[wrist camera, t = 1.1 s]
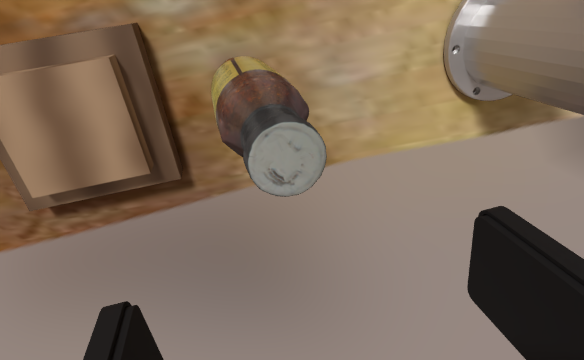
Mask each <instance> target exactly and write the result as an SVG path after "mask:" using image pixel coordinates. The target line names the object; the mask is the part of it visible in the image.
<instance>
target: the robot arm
mask: <svg viewBox="0 0 584 360" xmlns="http://www.w3.org/2000/svg"><path fill="white" fill-rule="evenodd" d="M444 63H445V68H446V71H447V75H448V77H449V79H450V80H451V82H452V84H453V85H454V86H455V87H456V88H457V90H458V91H460V92H461V93H463V94H464V95H466V96H468V97H471V98H473V99H477V100H481V101H494V100H499V99H503V98H506V97H508V96H511V95H513V94H514V95H517V96H521V97H524V98H527V99H531V100H534V101H538V102H541V103H545V104H548V105H551V106H555V107H558V108H562V109H565V110H569V111H572V112H576V113H579V114H582V115H584V0H463V1H462V2H461V3H460V5H459V6H458V8H457V10H456V11H455V13H454V15H453V17H452V19H451V22H450V24H449V27H448V30H447V34H446V38H445V44H444ZM468 293H469V295H470V297H471V299H472V300H473V301H474V303H475V304H476V305H477V306H478V307H479V308H480V309H481V310H482V311H483V313H484V314H485V315H486V316H487V317H488V318H489V319H490V320H491V321H492V322H493V324H494V325H495V326H496V327H497V328H498V329H499V330H500V331H501V332H502V333H503V335H504V336H505V337H506V338H507V339H508V340H509V341H510V342H511V344H512V345H513V346H514V347H515V348H516V349H517V350H518V351H519V352H520V353H521V355H522V356H523V357H524V358H525V359H526V360H584V259H583V258H581V257H579V256H578V255H577V254H575V253H574V252H572V251H570V250H569V249H568V248H566V247H565V246H563V245H562V244H560V243H558V242H557V241H556V240H554V239H553V238H551V237H550V236H548V235H547V234H545V233H544V232H542V231H541V230H539V229H538V228H536V227H535V226H533V225H532V224H530V223H529V222H527V221H526V220H524V219H523V218H521V217H520V216H518V215H517V214H515V213H514V212H512V211H511V210H509V209H508V208H506V207H504V206H498V207H494V208H491V209H487V210H483V211H481V212H480V213H479V216H478V217H477V218H476V219H475V222H474V231H473V240H472V250H471V259H470V268H469V278H468ZM83 360H163V358H162V355H161V353H160V351H159V349H158V347H157V345H156V343H155V340H154V338H153V336H152V334H151V332H150V330H149V328H148V325H147V323H146V321H145V319H144V317H143V315H142V313H141V310H140V308H139V307H138V306H137V305H134V306H131V304H130V303H129V302H127V301H126V302H122V303H118V304H114V305H110V306H106V307H103V308H102V309H101V311H100V313H99V316H98V319H97V322H96V325H95V328H94V331H93V333H92V336H91V339H90V342H89V345H88V347H87V350H86V353H85V356H84V359H83Z"/></svg>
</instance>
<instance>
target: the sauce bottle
mask: <svg viewBox="0 0 584 360" xmlns="http://www.w3.org/2000/svg"><path fill="white" fill-rule="evenodd" d="M211 95H212V101H213V107H214V112H215V117H216V123H217V126H218V129H219V131H220V134H221V138H222V141H223V143H225V144H226V145H227V146H228V147H230V148H231V149H232V150H233V151H235V152H236V153H237V154H239V155H240V156H242V157H243V160H244V163H245V166H246V169H247V171H248V173H249V175H250V178H251V179H252V180H253V182H254V183H255V184H256V185H257V187H258V188H259V189H261V190H262V191H264V192H267V193H269V194H272V195H276V196H285V197H286V196H293V195H299V194H301V193H303V192H305V191H306V190H308V189H309V188H310V187H312V186H313V185H314V183H315V182H316V181H317V180H318V179H319V178H320V176H321V175H322V172H323V170H324V167H325V163H326V157H327V156H326V146H325V144H324V141H323V139H322V138H321V136H320V134H319V133H318V132H317V131H316V129H315V128H314V127H313V126H312V125H311V124H310V123H308V122H307V118H308V116H309V108H308V105H307V104H306V102H305V101H304V99H303V98H302V97H301V95H300V94H299V92H298V90H296V89H295V88H294V86H292V85H291V84H290V83H289V82H288V81H287V80H286V79H285V78H284V77H282V76H281V75H280V74H278V73H277V72H276V71H275V70H273V69H272V68H270V67H269V66H268V65H266V64H265V63H263V62H262V61H260V60H258V59H255V58H252V57H245V56H242V57H235V58H231V59H229V60H227V61H226V62H225V63H223V64H222V65H221V66H220V67H219V69H218V70H217V72H216V73H215V75H214V77H213V81H212V86H211Z"/></svg>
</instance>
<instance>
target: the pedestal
mask: <svg viewBox="0 0 584 360" xmlns="http://www.w3.org/2000/svg"><path fill="white" fill-rule="evenodd" d="M0 160H1V161H2V163H3V165H4V167H5V168H6V170H7V172H8V174H9V176H10V177H11V179H12V181H13V183H14V184H15V186H16V188H17V190H18V191H19V193H20V195H21V197H22V199H23V200H24V202H25V204H26V206H27V207H28V209H29V211H33V210H38V209H42V208H47V207H52V206H57V205H61V204H66V203H71V202H75V201H80V200H85V199H89V198H94V197H99V196H103V195H108V194H113V193H117V192H122V191H127V190H131V189H136V188H141V187H145V186H150V185H155V184H159V183H164V182H169V181H173V180H178V179H181V176H182V171H183V168H182V164H181V161H180V158H179V155H178V152H177V148H176V145H175V142H174V139H173V136H172V132H171V129H170V126H169V123H168V120H167V116H166V113H165V110H164V107H163V104H162V101H161V97H160V94H159V91H158V88H157V85H156V81H155V78H154V75H153V72H152V69H151V65H150V62H149V59H148V56H147V53H146V49H145V46H144V43H143V40H142V37H141V34H140V30H139V27H138V24H137V23H133V24H127V25H121V26H114V27H108V28H102V29H96V30H90V31H84V32H78V33H71V34H65V35H59V36H53V37H47V38H41V39H35V40H29V41H22V42H16V43H10V44H4V45H0Z"/></svg>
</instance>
